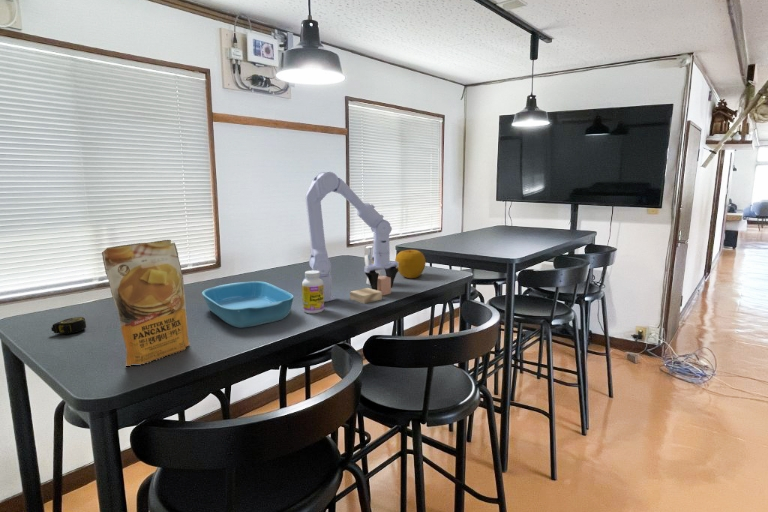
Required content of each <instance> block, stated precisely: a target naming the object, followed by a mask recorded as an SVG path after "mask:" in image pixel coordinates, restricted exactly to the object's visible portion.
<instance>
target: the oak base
mask: <svg viewBox="0 0 768 512" xmlns="http://www.w3.org/2000/svg"><path fill="white" fill-rule="evenodd" d="M349 299H350V300H352V301H355V302H359V303H361V304H368V303H371V302H376V301H379V300H380V301H381V300H383V295H382V292H381V291H377V290H374V289H372V288H371V287H370V288H369V287H365V288H360V289H357V290H352V291H349Z"/></svg>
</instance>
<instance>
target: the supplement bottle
mask: <svg viewBox="0 0 768 512" xmlns="http://www.w3.org/2000/svg"><path fill="white" fill-rule="evenodd" d="M319 276H320V271H315V270H312V269H311V270H306V271H305V272H304V278H306V279H305V280H304V281H303V280H302V282H301V283H302V285H301V287H302V298H303V300H302V309H303V310H302V311H303V312H305V313H306V314H319V313H322V312H323V311H324V310H325V302H324V292H323V281H322V280H321V279H319Z"/></svg>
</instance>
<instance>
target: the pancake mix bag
mask: <svg viewBox="0 0 768 512" xmlns="http://www.w3.org/2000/svg"><path fill="white" fill-rule="evenodd" d="M101 255H102V261H103V265H104V271H105V274H106V276H107V280H108V283H109V288H110V292H111V295H112V297H111V298H112V300H113V303H114V306H115V308H116V312H117V314H118V317H119V318H118V319H119V325H120V331H121V332H120V333H121V335H122V338H123V340H124V345H125V349H126V351H125V352H126V353H125V356H126V357H125V364H124V365H125V366H124V367H125V368H127V367H126V366H129V365H132V364H143V363H147V362H150V361H153V360H156V359H159V358H162V357H165V356H167V357H169V356H168V355H170V356H172V355H171V354H173V355H175V354H174V353H176V354H178V353H181V352H183V351H185V349H186V348H187V347H188V346H190V345H191V344H190V341H189V338H188V318H187V309H186V308H187V307H186V291H185V287H184V286H185V284H184V283H185V282H184V276H183V270H182V266H181V262H180V258H179V252H178V249H177V245H176V243H175V242H172V239H162V240H156V241H151V242H150V241H149V242H139V243H138V242H137V243H130V244H129V243H128V244H124V245H123V244H122V245H117V246H112V247H111V246H110V247H107V248H106V249H104V250H103V251H102V252H101ZM186 350H187V349H186ZM180 351H181V352H180ZM177 352H178V353H177ZM165 358H166V357H165ZM162 359H163V358H162ZM159 360H160V359H159ZM156 361H157V360H156ZM153 362H154V361H153ZM150 363H151V362H150ZM147 364H148V363H147Z"/></svg>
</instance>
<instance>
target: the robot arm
mask: <svg viewBox="0 0 768 512" xmlns="http://www.w3.org/2000/svg"><path fill="white" fill-rule="evenodd" d="M332 192H333V193H336V194H339V195H341V196H342V197H343V198H344V199H345V200H346V201H348V203H350V204H351V205H352V206H353V208H355V209H356V212H357V216H358V217H359V218H360V219H361V220H362V221H363V222H364V223H365V224H366V226H368V227H369V228H370V230H371V232H372V233H373V245H374V264H372V265H369V266H364V267H363V268H364V269H363V270H364V271H363V272H364V274H365V276H366V278H367V277H368V279H369V281H370V284H371V285H370V288H371V289H374V290H377V281H378V276H379V273H376V272H375V271H377V270H381V271H382V270H383V271H384V272H385V276H387V277H391V289H392V288H393V286H394V282H395V279H396V277H397V274H398V273H399V271H398V268H396V267H399V262H396V261H395V260H394V261H391V260H390V259H391V258H390V254H391V253H390V234H391V233H392V229H393V228H392V226H391V223H390V222H389V221H388V220H386V219H384V215H383V214H380V213H379V212H378V211H377V209H375V208H376V206H375V205H374V204H373V203H372V204H370V203H369V202H367V203H366V202H363V201H362V199H361V198H360V197H359V196H358V195H357V194H356V193H355V192H354V191H353V190H352V188H351V187H350V186H349V185H348V184H347V183H346V182H345V181H344V180H343V179H341V178H340V177H339V176H337V174H336V173H334V172H332V171H326V172H325V171H321V172H320V173H318V174H317V175H315V177H314V178H313V179H312V181H311V184H310V186H309V188H308V190H307V192H306V194H305V203H306V205H305V206H306V212H307V213H306V214H307V224H308V231H309V232H308V233H309V238H310V240H309V241H310V247H311V248H310V258H309V260H308V265H309V267H310V268H311V271H312V270H315V271H320V276H319V279H321V280H322V281H323V292H324V303H325V302H329V301H330V302H331V301H334V300H338V298H337V297H336V296H334V295H333V296H332V273H331V270H332V266H333V265H332V262H331V261H330V259H329V255H328V251H327V248H326V240H325V239H326V238H325V231H324V221H323V211H322V204H321V203H322V200H323V199H324V198H325V197H326V196H327V195H328V194H330V193H332ZM305 279H306V277H304V278H303V280H302V282H303V281H304V280H305ZM302 301H303V297H302Z"/></svg>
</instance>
